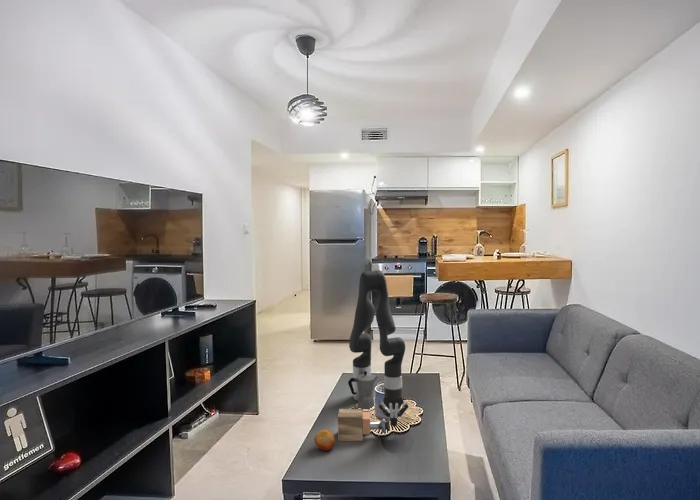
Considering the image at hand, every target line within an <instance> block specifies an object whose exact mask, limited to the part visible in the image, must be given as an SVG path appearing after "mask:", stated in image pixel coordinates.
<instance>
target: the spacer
mask: <svg viewBox="0 0 700 500" xmlns="http://www.w3.org/2000/svg"><path fill="white" fill-rule="evenodd" d="M370 422H371V411H363V435H371V430H370Z"/></svg>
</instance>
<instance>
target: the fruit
mask: <svg viewBox="0 0 700 500" xmlns="http://www.w3.org/2000/svg"><path fill="white" fill-rule="evenodd" d="M313 440H314V444H315V446H316V448H317V449H318V450H319V451H330V450H332V449H333V447H334V445H335V435H334V434H333V432H332V431H331V430H330V429H327V428H325V429H321V430H319V431H318V432H317V433H316V434H315V436H314V439H313Z"/></svg>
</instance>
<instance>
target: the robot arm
mask: <svg viewBox="0 0 700 500" xmlns="http://www.w3.org/2000/svg"><path fill="white" fill-rule="evenodd" d="M371 292H379V302H378V305H377V308H375V306H374V303H373V302H372V301H371V299H370V298H369V296H368V294H369V293H371ZM356 302H357V303H356V308H355V313H354V320H353V326H352V330H351V333H350V337H349V340H348V345H349V350H350V351H351V353H354V354H357V353H361V354H360V355H358V356H356V357H355V358H353V360H352V378H354V377H357V376H359V375H362V374H364V371H367V374H370V375H372V338H371V336H370V334H369V333H364V332H365V331H366V330H367V329H369V327H370V326H371V325H372V324H373V322H374V318H375V319H376V324H377V327H378V330H379V351H380V353H381V354H382V355H383V356H385V357H391V356H392V358H389V359H388V360H385V362H384V366H383V367H384V369H383V370H384V377H383V387H384V388H383V395H384V396H383V401H382V402H378V408H379V409H380V410H381V411H382V413H383V414H384V415H385V416H386V417H389V419H390V420H389V424H390V425H391V426H392V427H393V428H394V427H396V426H398V418H399V417H400V418H402V416H403V415H404V414H405V412H406V411H407V410H408V408H409V403H408V402H405V401H404V398H403V376H402V364H403V360H404V356H405V352H406V343H405V340H404V339H403V338H402V337H399V336H398V337H390V338H388V336H390V335H392V334H394V333H395V332H396V330H397V328H396V325H395V321H394V318H393V314H392V311H391V305H390V297H389V291H388V285H387V280H386V276H385V273H384V272H383V271H382V270H367V271H362V273H360V277H359V285H358V296H357V301H356ZM352 386H353V389H354V392H357V393H356V394H354V395H353V394H352V395H353V400H355V401H357V402H358V397H359V391H358V386H357V382H352ZM387 409H388V410H389V411H388V410H387Z"/></svg>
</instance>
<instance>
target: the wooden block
mask: <svg viewBox="0 0 700 500" xmlns="http://www.w3.org/2000/svg"><path fill="white" fill-rule="evenodd" d="M363 412H364V411H363V409H357V408H339V409H338V416H337V430H338V431H337V432H338V433H337V434H338V436H337V438H338V441H340V442H341V441H342V442H344V441H345V442H348V441H349V442H350V441H351V442H352V441H353V442H356V441H357V442H359V441H361V442H363V440H364V434H363V427H362V422H363Z"/></svg>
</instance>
